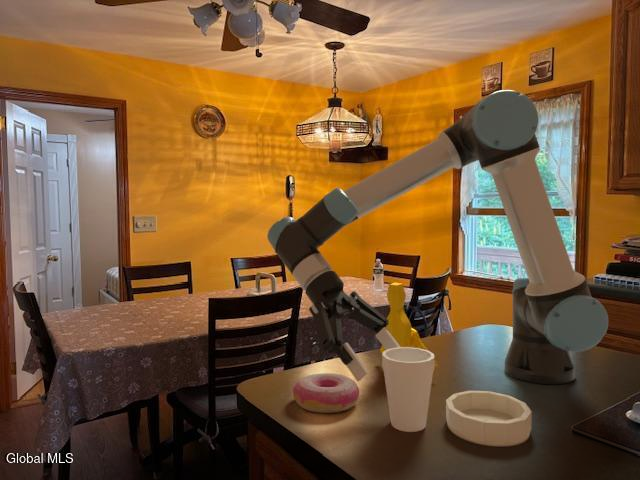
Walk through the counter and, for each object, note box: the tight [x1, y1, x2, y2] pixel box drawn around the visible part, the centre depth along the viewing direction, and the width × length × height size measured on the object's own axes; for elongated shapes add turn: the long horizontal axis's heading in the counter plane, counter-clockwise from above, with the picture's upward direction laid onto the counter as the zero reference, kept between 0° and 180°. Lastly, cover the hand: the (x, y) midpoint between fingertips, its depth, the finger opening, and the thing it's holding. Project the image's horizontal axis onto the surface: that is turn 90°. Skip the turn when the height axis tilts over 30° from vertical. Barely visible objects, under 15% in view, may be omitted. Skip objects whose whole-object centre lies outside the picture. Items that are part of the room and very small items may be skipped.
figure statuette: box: [379, 282, 438, 368], centre depth 114 cm, size 18×8×22 cm, turn 39°
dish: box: [445, 390, 533, 448], centre depth 85 cm, size 14×14×4 cm
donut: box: [292, 372, 360, 414], centre depth 97 cm, size 14×13×5 cm
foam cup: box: [381, 347, 435, 433], centre depth 87 cm, size 10×9×13 cm
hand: (383, 366), depth 89 cm, fingers open, 13 cm apart
